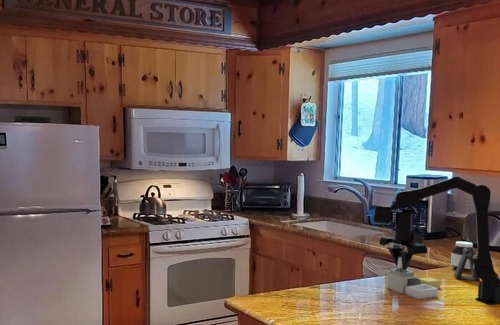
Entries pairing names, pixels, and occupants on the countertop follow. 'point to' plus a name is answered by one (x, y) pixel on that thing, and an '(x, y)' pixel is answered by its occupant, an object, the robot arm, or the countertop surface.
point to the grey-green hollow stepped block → (401, 280)
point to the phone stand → (462, 264)
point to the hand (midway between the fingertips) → (401, 268)
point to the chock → (430, 282)
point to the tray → (421, 291)
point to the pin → (400, 265)
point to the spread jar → (458, 253)
